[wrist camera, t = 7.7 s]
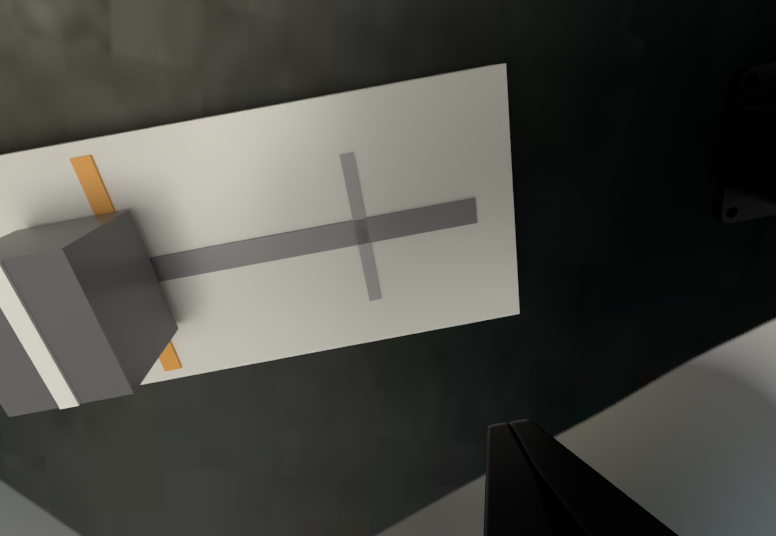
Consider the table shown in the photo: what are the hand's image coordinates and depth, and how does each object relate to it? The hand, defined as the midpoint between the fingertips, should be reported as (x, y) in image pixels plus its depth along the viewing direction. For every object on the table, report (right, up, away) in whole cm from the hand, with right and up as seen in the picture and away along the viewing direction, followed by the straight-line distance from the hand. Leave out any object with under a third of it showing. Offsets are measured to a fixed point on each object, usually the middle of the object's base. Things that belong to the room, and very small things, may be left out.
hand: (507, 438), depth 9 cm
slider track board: (-7, +5, +10) cm, 14 cm away
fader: (-13, +3, +8) cm, 16 cm away
